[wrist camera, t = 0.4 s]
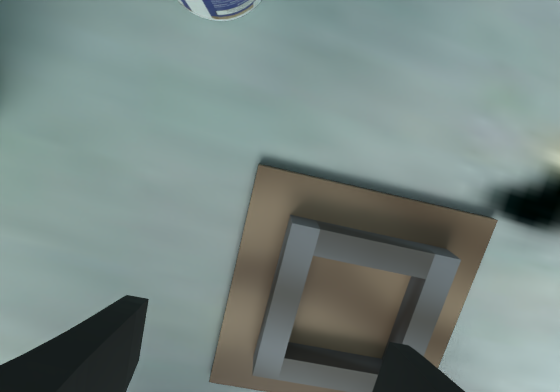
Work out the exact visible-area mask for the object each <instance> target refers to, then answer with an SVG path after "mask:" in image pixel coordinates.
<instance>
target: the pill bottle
mask: <svg viewBox="0 0 560 392" xmlns="http://www.w3.org/2000/svg"><path fill="white" fill-rule="evenodd" d="M177 1H178V2H179V3H180V4H182V5H183V6H184V7H185V8H186V9H187V10H189V11H190V12H192V13H193V14H195V15H197V16H199V17H202V18H205V19H209V20H214V21H229V20H234V19H237V18H239V17H242V16H244V15H246V14H247V13H249V12H250V11H252V10H253V9H254V8H255V7H256V6H257V5H258V4H259V3H260V2H261V0H177Z"/></svg>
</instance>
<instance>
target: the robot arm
mask: <svg viewBox="0 0 560 392" xmlns="http://www.w3.org/2000/svg"><path fill="white" fill-rule="evenodd" d="M147 306H148V299H146V298H140V297H134V296H129V295H126V296H124V297H123V298H121V299H119V300H118V301H116V302H114V303H113V304H111V305H109V306H108V307H106V308H105V309H103V310H101V311H100V312H98V313H96V314H95V315H93V316H92V317H90V318H88V319H87V320H85V321H83V322H82V323H80V324H78V325H76V326H75V327H73V328H71V329H70V330H68V331H66V332H64V333H63V334H61V335H59V336H57V337H55V338H53V339H51V340H49V341H48V342H46V343H44V344H42V345H40V346H38V347H36V348H34V349H33V350H31V351H29V352H27V353H25V354H23V355H21V356H19V357H17V358H15V359H13V360H10V361H8V362H6V363H4V364H2V365H0V392H126V390H127V388H128V385H129V383H130V381H131V378H132V376H133V373H134V371H135V368H136V366H137V364H138V361H139V356H140V349H141V343H142V337H143V331H144V324H145V318H146V312H147ZM372 392H465V391H464V390H462V389H461V388H460V387H459V386H458V385H456V384H455V383H454V382H453V381H452V380H451V379H449V378H448V377H447V376H446V375H445V374H444V373H442V372H441V371H440V370H439V369H438V368H437V367H435V366H434V365H433V364H432V363H431V362H430V361H428V360H427V359H426V358H425V357H424V356H422V355H421V354H420V353H419V352H417V351H416V350H415V349H413V348H412V347H410V346H409V345H405V344H399V343H394V342H389V345H388V348H387V350H386V353H385V356H384V359H383V362H382V365H381V368H380V371H379V374H378V377H377V379H376V382H375V385H374V388H373V391H372Z"/></svg>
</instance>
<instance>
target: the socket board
mask: <svg viewBox="0 0 560 392" xmlns="http://www.w3.org/2000/svg"><path fill="white" fill-rule="evenodd" d="M497 221H498V220H496V219H494V218H491V217H486V216H482V215H478V214H474V213H469V212H465V211H461V210H456V209H452V208H448V207H443V206H439V205H435V204H430V203H426V202H422V201H417V200H413V199H409V198H405V197H400V196H396V195H392V194H387V193H383V192H379V191H374V190H370V189H366V188H361V187H357V186H353V185H349V184H344V183H340V182H336V181H331V180H327V179H323V178H318V177H314V176H310V175H305V174H301V173H297V172H292V171H288V170H284V169H280V168H275V167H271V166H267V165H262V164H259V165H258V169H257V174H256V178H255V182H254V187H253V191H252V196H251V200H250V204H249V209H248V213H247V217H246V222H245V226H244V231H243V235H242V239H241V244H240V248H239V253H238V257H237V261H236V266H235V270H234V274H233V279H232V283H231V288H230V292H229V296H228V301H227V305H226V310H225V314H224V318H223V323H222V327H221V331H220V336H219V340H218V345H217V349H216V353H215V358H214V362H213V367H212V371H211V375H210V380H209V382H211V383H217V384H223V385H230V386H236V387H242V388H248V389H254V390H260V391H266V392H372V391H373V388H374V385H375V382H376V379H377V377H378V374H379V371H380V368H381V365H382V362H383V359H384V356H385V353H386V350H387V348H388V345H389V342H394V343H399V344H405V345H409V346H410V347H412V348H413V349H415V350H416V351H417V352H419V353H420V354H421V355H422V356H424V357H425V358H426V359H427V360H428V361H430V362H431V363H432V364H433V365H434V366H435V367H437V368H438V367H439V364H440V362H441V359H442V357H443V354H444V352H445V349H446V347H447V344H448V342H449V339H450V337H451V335H452V332H453V330H454V327H455V325H456V322H457V320H458V317H459V315H460V312H461V310H462V307H463V305H464V302H465V300H466V297H467V295H468V293H469V290H470V288H471V285H472V283H473V280H474V278H475V275H476V273H477V270H478V268H479V265H480V263H481V260H482V258H483V255H484V253H485V250H486V248H487V246H488V243H489V241H490V238H491V236H492V233H493V231H494V228H495V226H496V223H497Z"/></svg>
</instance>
